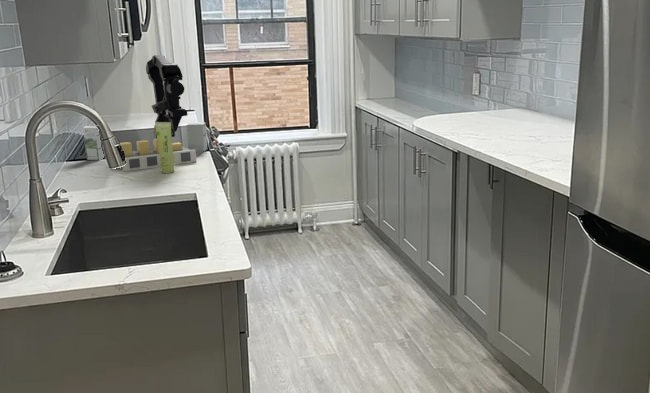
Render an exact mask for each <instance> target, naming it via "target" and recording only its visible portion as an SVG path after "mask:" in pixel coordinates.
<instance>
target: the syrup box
mask: <svg viewBox="0 0 650 393" xmlns="http://www.w3.org/2000/svg"><path fill="white" fill-rule="evenodd" d="M96 126H97V125H85V126H83V127H82V132H83V141H84V147H85V155H86V161H101V160H104V159H105V158H104V156H105V153H104V154H103V151H102V147H101V140H100V134H99V131H98V129H97V127H96ZM103 158H104V159H103Z"/></svg>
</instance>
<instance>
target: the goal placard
mask: <svg viewBox="0 0 650 393" xmlns="http://www.w3.org/2000/svg"><path fill="white" fill-rule="evenodd" d="M126 161H127V164H126V165H125V166H123V169H122V172H128V171H136V170H144V169H151V168H159V167H160V168H161V164H160V155H159V154H154V155H146V156H137V157H129V158H126ZM173 161H174V164H175V165H182V164H189V163H188V162H190V163H196V162H195V161H197V152H196V150H187V151H178V152H173ZM181 163H182V164H181Z"/></svg>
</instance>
